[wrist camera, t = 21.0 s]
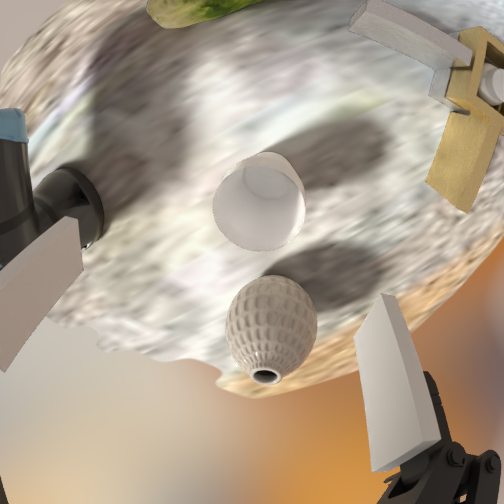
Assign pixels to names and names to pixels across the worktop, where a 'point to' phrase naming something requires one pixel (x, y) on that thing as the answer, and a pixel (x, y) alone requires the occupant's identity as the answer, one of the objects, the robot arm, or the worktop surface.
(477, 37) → the beige square frame
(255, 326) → the vase
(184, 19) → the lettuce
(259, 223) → the cup
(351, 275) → the worktop surface
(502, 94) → the supplement bottle
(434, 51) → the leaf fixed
